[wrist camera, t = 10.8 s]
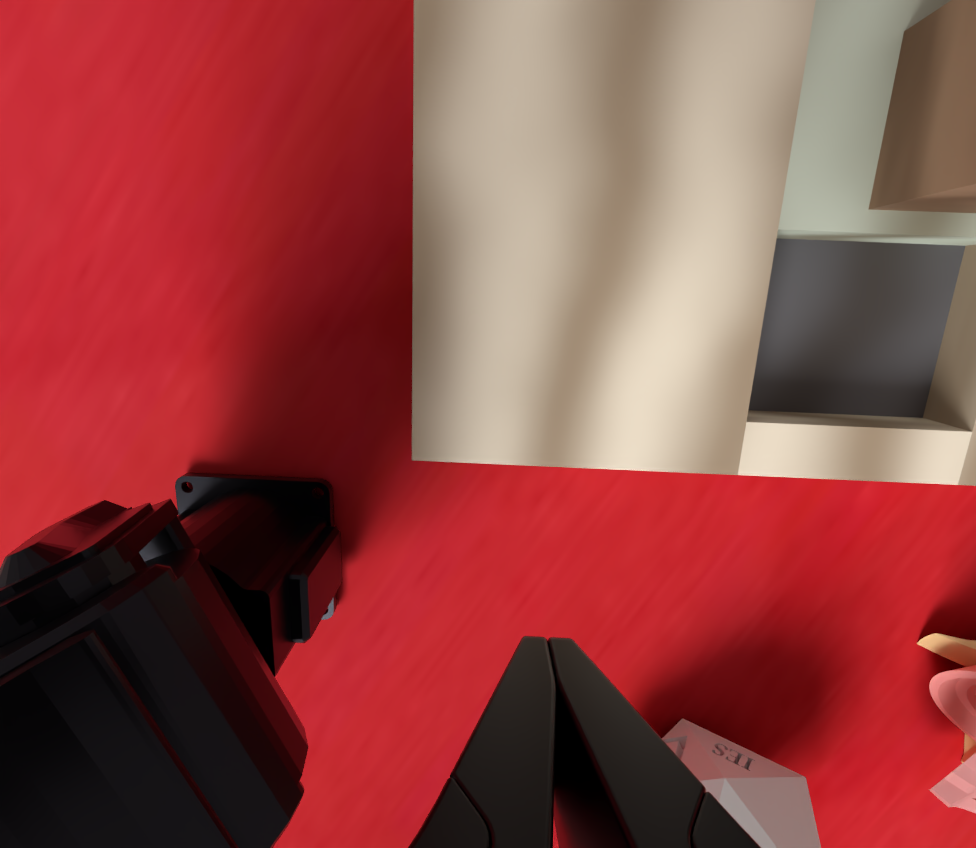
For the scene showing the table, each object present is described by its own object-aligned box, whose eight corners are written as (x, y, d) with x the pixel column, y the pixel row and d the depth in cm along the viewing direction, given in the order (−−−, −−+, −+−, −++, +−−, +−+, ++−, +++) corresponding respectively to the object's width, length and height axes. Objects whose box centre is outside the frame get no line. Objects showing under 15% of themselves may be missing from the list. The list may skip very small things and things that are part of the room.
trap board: (421, 441, 21) (395, 489, 16) (428, -313, 16) (391, -629, 10) (978, 466, 21) (1140, 523, 16) (1193, -294, 15) (1560, -607, 10)
